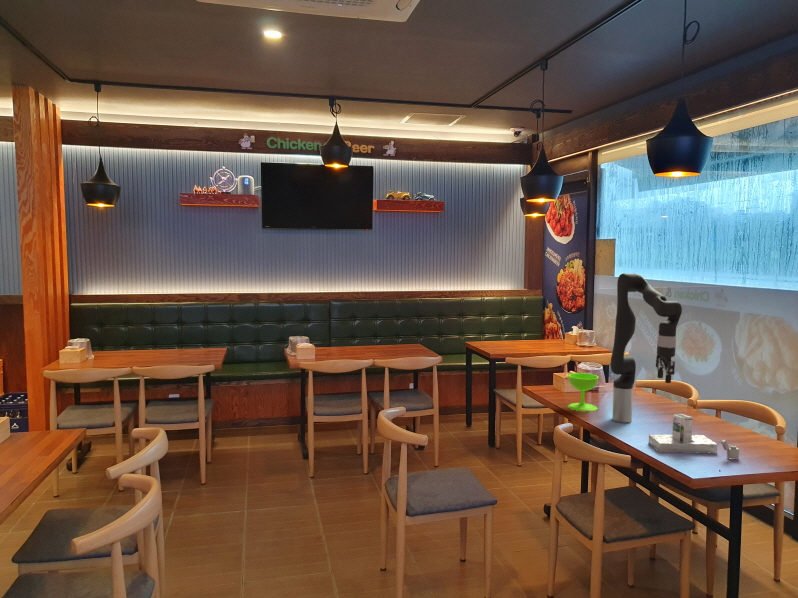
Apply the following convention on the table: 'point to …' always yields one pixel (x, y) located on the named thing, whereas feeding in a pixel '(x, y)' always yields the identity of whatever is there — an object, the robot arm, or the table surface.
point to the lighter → (730, 450)
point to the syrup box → (682, 428)
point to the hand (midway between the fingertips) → (664, 380)
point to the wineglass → (582, 389)
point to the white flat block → (683, 444)
